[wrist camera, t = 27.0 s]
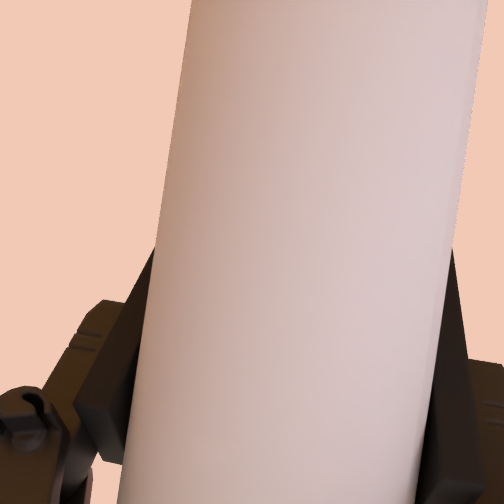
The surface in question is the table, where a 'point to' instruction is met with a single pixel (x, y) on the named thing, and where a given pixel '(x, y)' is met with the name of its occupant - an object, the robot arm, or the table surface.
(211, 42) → the travel mug
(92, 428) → the robot arm
